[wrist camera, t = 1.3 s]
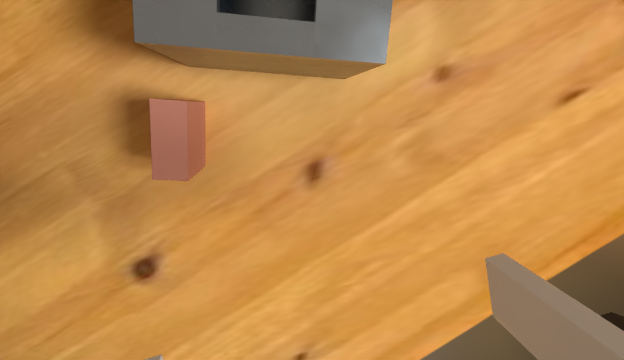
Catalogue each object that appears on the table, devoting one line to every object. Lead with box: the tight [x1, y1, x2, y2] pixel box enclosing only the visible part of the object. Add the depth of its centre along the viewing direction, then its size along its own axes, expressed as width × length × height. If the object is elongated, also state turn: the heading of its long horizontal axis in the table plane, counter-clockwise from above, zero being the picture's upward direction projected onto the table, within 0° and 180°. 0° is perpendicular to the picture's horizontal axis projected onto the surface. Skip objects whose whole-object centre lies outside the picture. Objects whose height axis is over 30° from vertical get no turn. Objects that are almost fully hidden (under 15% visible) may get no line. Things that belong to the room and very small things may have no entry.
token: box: [149, 99, 205, 181], centre depth 25 cm, size 2×6×6 cm, turn 176°
